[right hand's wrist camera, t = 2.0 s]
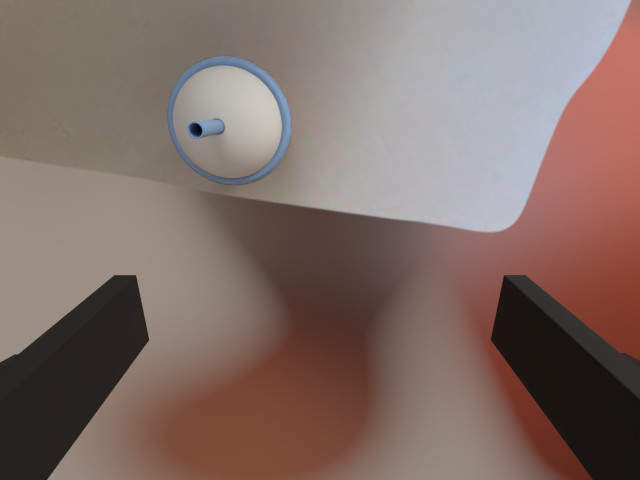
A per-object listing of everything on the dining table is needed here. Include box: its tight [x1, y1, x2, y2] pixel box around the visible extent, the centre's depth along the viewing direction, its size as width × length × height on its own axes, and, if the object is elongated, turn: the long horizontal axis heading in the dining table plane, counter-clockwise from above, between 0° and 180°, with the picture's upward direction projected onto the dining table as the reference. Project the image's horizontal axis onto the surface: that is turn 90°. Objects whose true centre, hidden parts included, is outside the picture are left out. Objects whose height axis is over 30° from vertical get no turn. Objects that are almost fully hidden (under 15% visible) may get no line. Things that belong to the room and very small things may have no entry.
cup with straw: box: [168, 56, 291, 185], centre depth 27 cm, size 9×9×18 cm
